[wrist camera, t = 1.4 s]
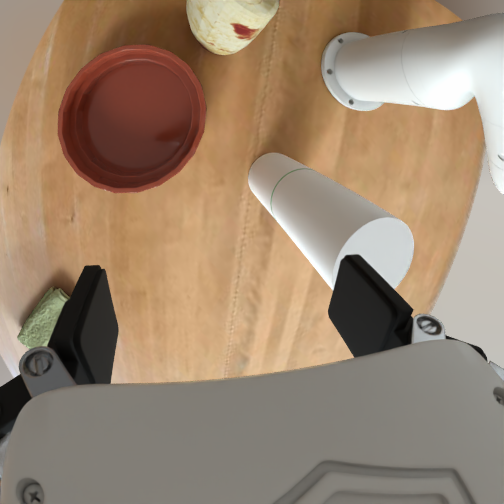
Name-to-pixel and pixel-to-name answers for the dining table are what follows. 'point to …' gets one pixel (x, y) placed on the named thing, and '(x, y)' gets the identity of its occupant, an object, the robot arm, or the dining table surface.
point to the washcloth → (43, 319)
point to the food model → (228, 22)
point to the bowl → (131, 118)
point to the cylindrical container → (330, 219)
